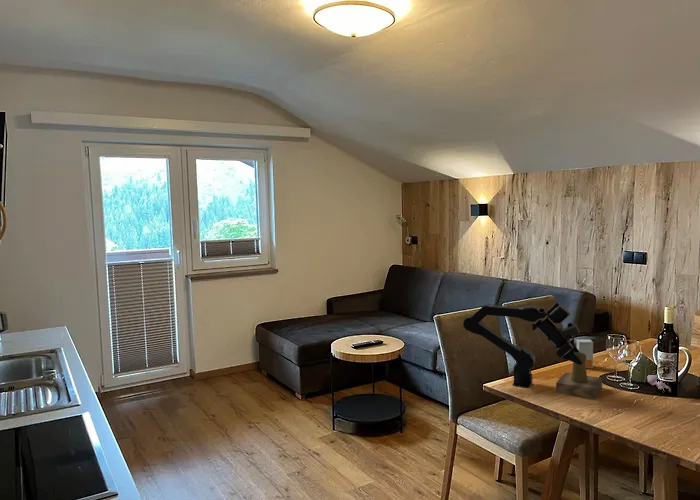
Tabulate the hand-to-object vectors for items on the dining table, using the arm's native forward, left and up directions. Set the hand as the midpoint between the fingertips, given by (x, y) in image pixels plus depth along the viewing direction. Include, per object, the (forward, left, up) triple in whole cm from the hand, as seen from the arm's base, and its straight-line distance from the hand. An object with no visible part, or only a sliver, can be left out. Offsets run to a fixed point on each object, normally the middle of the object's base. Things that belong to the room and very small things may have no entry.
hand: (581, 360), depth 201 cm
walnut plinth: (-1, 0, -12) cm, 12 cm away
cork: (-1, 0, -8) cm, 8 cm away
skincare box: (-5, +31, -12) cm, 34 cm away
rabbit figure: (+24, +19, -12) cm, 33 cm away
